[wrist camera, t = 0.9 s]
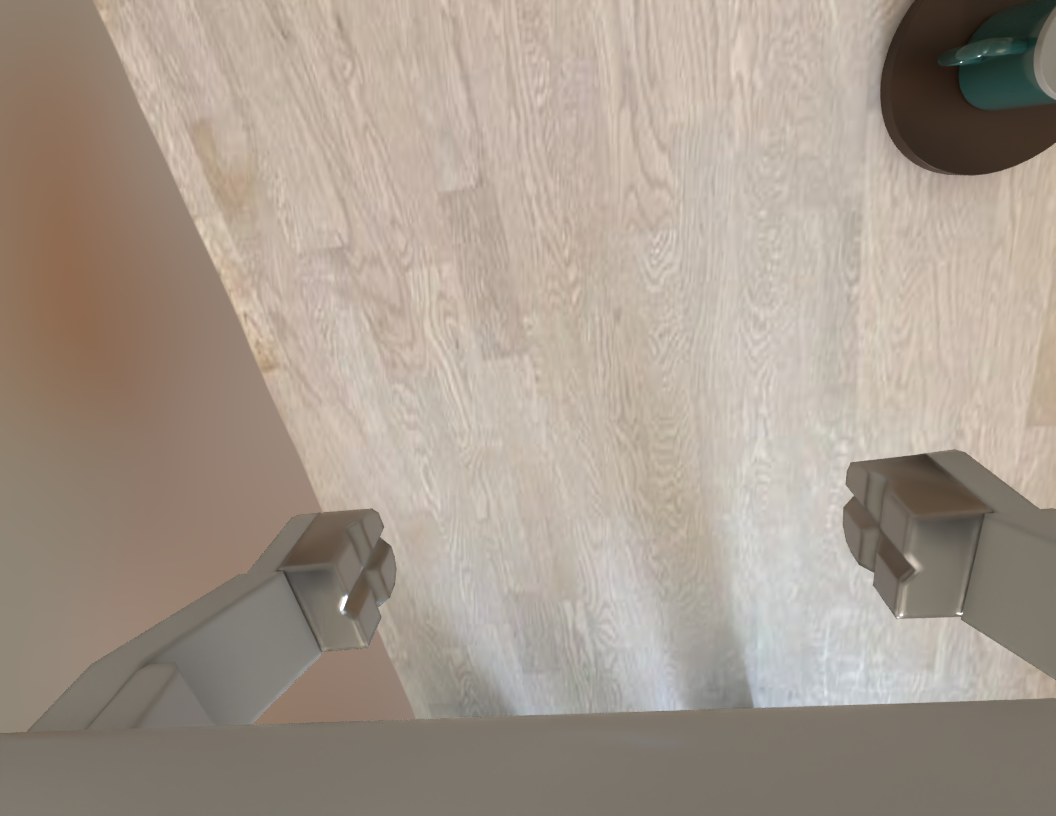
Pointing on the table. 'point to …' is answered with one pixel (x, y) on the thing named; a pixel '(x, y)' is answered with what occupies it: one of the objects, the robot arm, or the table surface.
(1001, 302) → the table surface
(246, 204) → the table surface
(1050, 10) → the green lidded mug
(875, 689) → the table surface
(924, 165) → the turntable
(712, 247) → the table surface
